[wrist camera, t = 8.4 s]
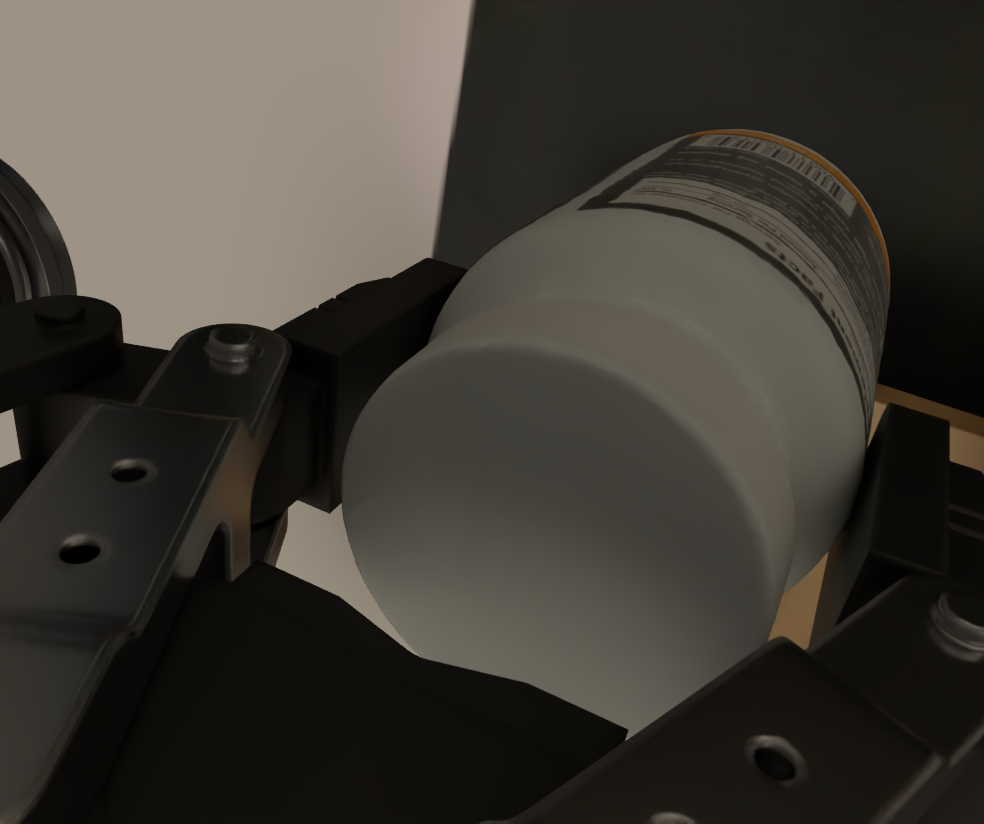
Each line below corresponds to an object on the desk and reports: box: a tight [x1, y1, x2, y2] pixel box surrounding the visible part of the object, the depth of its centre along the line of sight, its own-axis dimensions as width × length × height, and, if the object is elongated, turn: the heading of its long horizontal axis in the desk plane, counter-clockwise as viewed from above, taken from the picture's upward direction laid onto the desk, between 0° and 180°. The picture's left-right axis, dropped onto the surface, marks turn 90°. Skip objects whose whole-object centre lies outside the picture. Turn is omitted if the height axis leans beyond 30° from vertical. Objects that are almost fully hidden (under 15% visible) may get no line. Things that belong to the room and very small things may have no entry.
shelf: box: [767, 383, 984, 650], centre depth 29 cm, size 18×10×7 cm, turn 78°
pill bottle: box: [341, 129, 890, 738], centre depth 13 cm, size 6×6×10 cm
